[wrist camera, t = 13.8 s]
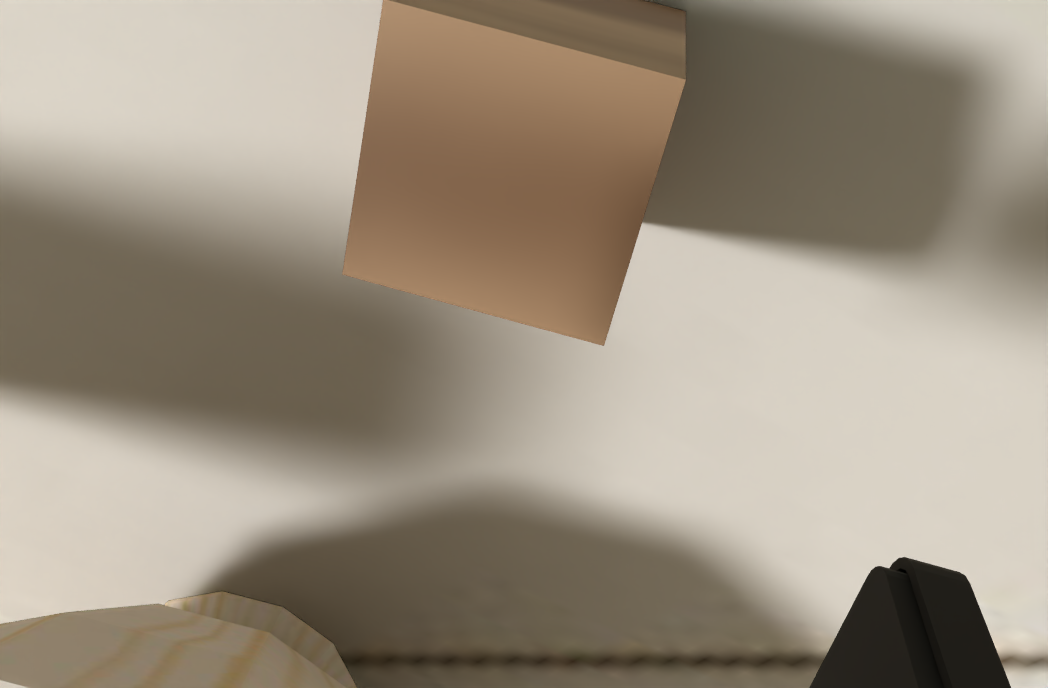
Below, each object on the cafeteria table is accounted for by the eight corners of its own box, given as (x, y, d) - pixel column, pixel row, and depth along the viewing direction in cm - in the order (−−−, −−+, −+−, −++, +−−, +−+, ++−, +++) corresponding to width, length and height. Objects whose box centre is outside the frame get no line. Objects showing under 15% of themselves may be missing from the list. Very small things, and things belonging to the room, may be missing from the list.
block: (465, -48, 19) (383, -1, 14) (685, 10, 19) (686, 79, 14) (426, 165, 21) (342, 274, 16) (623, 219, 21) (603, 345, 16)
